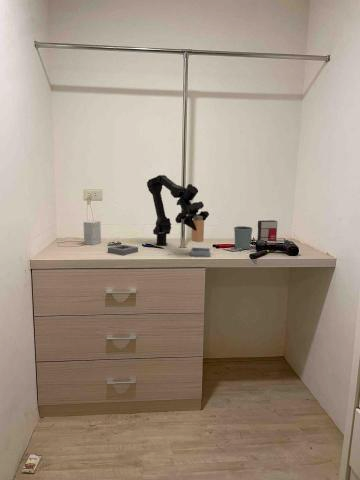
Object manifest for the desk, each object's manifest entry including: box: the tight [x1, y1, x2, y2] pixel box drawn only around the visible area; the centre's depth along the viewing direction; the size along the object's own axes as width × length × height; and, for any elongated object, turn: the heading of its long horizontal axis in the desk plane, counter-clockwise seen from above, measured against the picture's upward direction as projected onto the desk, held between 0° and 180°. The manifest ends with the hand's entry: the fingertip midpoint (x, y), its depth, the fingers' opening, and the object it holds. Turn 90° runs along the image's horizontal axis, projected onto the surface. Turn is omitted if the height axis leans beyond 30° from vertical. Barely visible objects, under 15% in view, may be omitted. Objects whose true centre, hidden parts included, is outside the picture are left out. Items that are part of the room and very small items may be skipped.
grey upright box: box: [256, 219, 278, 243], centre depth 224 cm, size 11×4×15 cm, turn 105°
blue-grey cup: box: [233, 225, 253, 250], centre depth 216 cm, size 10×10×12 cm
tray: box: [190, 247, 212, 258], centre depth 198 cm, size 10×10×2 cm
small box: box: [83, 220, 102, 246], centre depth 220 cm, size 8×6×13 cm
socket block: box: [107, 244, 139, 256], centre depth 196 cm, size 11×11×4 cm
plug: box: [190, 216, 205, 243], centre depth 194 cm, size 5×4×13 cm
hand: (199, 229), depth 193 cm, fingers closed on plug, 4 cm apart
